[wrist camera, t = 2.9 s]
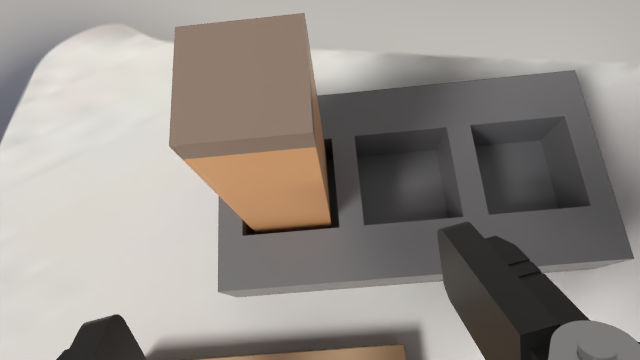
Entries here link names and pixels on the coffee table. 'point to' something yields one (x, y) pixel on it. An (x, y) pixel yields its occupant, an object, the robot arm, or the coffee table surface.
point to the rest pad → (330, 354)
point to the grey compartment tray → (440, 187)
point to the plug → (253, 120)
